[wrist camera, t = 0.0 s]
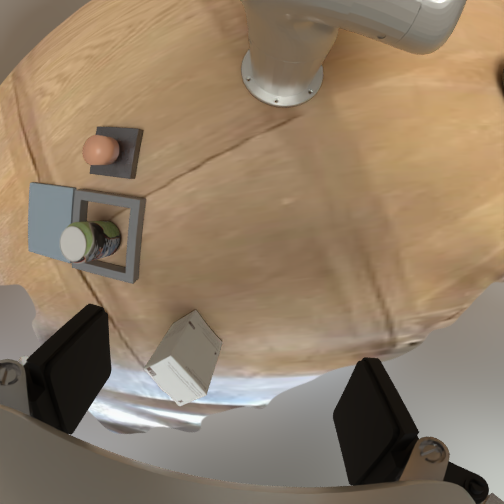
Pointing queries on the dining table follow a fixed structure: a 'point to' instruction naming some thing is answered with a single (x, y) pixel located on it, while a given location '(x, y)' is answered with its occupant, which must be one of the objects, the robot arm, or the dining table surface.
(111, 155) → the button
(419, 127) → the dining table surface
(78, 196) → the frame
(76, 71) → the dining table surface
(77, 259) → the beverage can
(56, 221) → the mat
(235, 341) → the dining table surface
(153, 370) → the skincare box
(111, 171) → the button base
